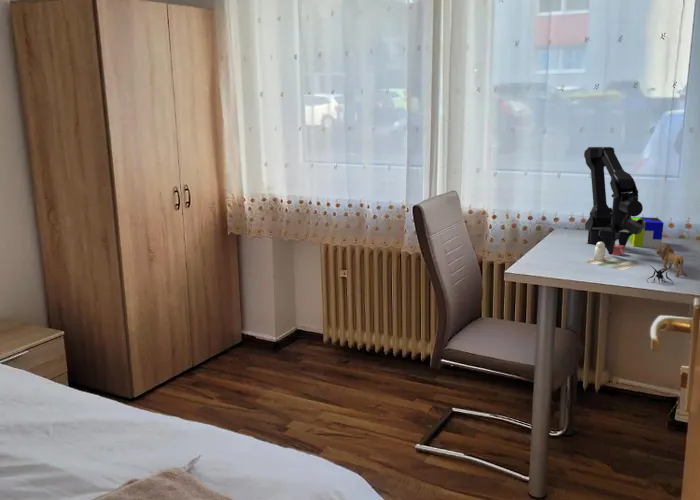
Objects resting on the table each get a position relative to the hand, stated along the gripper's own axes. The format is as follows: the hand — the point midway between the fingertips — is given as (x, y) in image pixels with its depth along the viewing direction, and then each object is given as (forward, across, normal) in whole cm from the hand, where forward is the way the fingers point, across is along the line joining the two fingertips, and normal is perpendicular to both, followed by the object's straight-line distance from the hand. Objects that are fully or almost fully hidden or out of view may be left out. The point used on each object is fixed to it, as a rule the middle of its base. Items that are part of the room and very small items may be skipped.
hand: (616, 252), depth 251 cm
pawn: (+1, -13, 0) cm, 13 cm away
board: (+1, -13, -5) cm, 14 cm away
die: (+2, 0, 0) cm, 2 cm away
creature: (+2, -22, -26) cm, 34 cm away
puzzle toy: (+2, +26, +1) cm, 26 cm away
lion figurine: (+2, -7, -23) cm, 24 cm away
